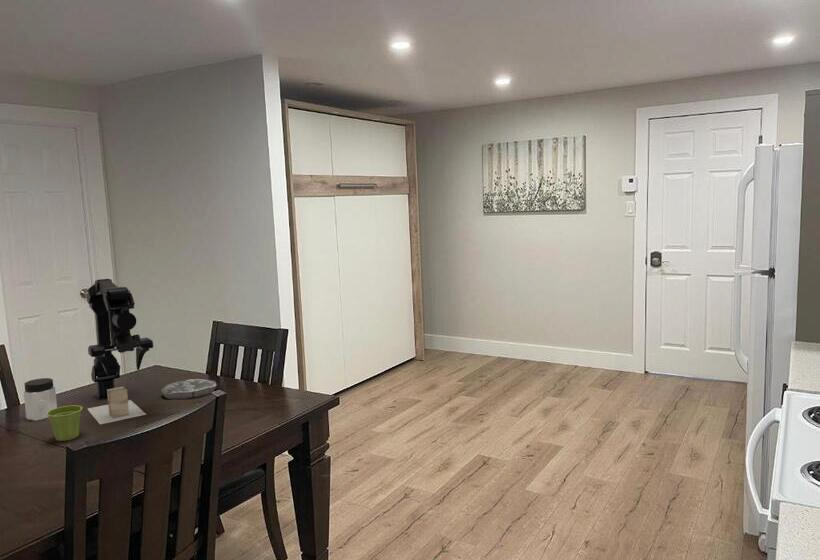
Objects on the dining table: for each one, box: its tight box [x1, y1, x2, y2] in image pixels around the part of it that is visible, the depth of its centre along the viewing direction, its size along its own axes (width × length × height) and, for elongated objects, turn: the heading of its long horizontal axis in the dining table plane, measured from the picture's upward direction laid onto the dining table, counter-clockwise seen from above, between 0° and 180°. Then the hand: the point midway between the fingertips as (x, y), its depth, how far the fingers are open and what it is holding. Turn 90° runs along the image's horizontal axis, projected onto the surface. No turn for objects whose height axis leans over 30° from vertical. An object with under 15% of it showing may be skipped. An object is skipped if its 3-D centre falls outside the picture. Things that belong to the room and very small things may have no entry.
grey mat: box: [87, 399, 147, 425], centre depth 205 cm, size 20×14×1 cm
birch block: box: [107, 386, 129, 418], centre depth 202 cm, size 5×5×8 cm
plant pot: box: [46, 405, 83, 442], centre depth 183 cm, size 9×9×9 cm
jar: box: [23, 377, 58, 422], centre depth 202 cm, size 9×8×12 cm
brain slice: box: [159, 378, 217, 400], centre depth 226 cm, size 20×17×3 cm
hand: (123, 372), depth 200 cm, fingers open, 9 cm apart
